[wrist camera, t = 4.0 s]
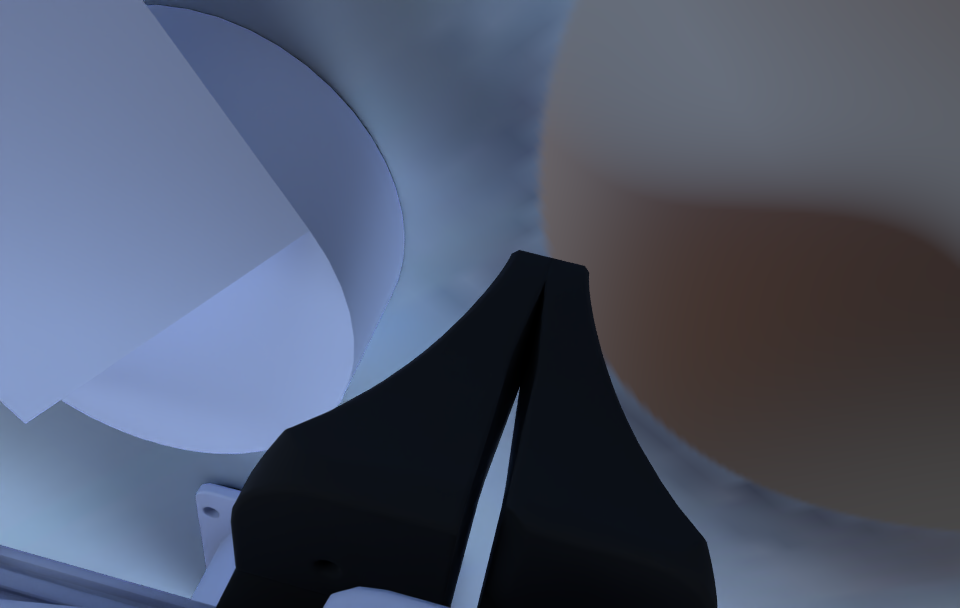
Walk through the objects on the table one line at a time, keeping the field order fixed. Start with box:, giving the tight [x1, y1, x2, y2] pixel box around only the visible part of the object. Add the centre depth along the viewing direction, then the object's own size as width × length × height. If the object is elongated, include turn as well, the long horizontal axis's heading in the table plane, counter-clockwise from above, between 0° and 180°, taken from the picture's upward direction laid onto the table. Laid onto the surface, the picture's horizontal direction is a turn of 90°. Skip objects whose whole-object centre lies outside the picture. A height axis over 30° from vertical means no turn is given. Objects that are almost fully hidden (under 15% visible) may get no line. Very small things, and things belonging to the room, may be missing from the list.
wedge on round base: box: [0, 0, 405, 454], centre depth 15 cm, size 9×7×13 cm
